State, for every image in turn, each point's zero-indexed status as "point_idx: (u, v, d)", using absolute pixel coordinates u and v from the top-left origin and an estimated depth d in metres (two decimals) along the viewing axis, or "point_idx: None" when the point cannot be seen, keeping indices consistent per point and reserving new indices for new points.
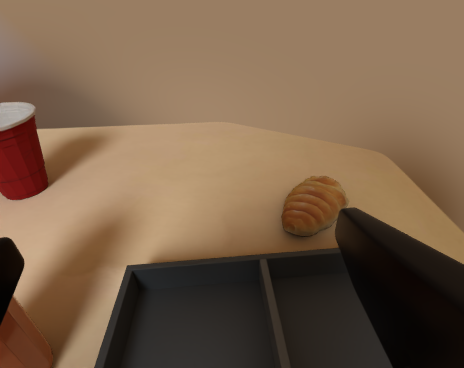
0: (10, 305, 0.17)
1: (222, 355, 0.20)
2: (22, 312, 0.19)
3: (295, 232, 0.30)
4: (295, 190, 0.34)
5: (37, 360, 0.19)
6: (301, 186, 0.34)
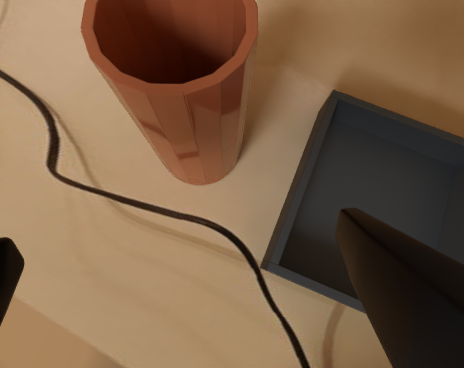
0: None
1: (391, 221, 0.21)
2: None
3: None
4: None
5: (239, 151, 0.21)
6: None
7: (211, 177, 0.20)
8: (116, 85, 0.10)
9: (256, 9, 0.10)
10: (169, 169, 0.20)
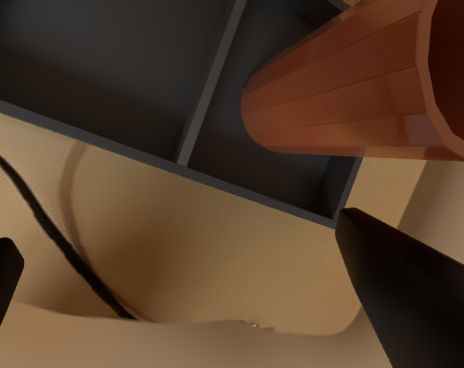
0: None
1: (149, 40, 0.17)
2: None
3: None
4: None
5: None
6: None
7: (275, 148, 0.19)
8: (407, 68, 0.07)
9: None
10: (251, 108, 0.17)
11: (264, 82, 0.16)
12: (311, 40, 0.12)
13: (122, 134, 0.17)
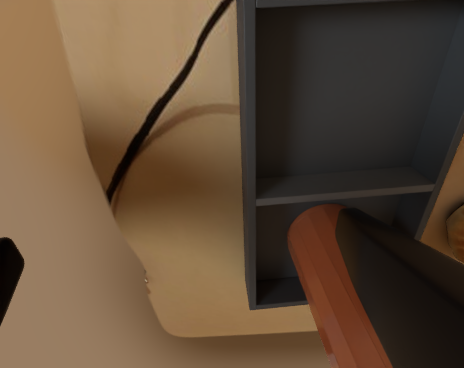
0: None
1: (339, 127, 0.20)
2: None
3: (458, 213, 0.24)
4: None
5: None
6: None
7: (292, 249, 0.23)
8: None
9: None
10: (316, 224, 0.22)
11: None
12: None
13: (257, 138, 0.20)
